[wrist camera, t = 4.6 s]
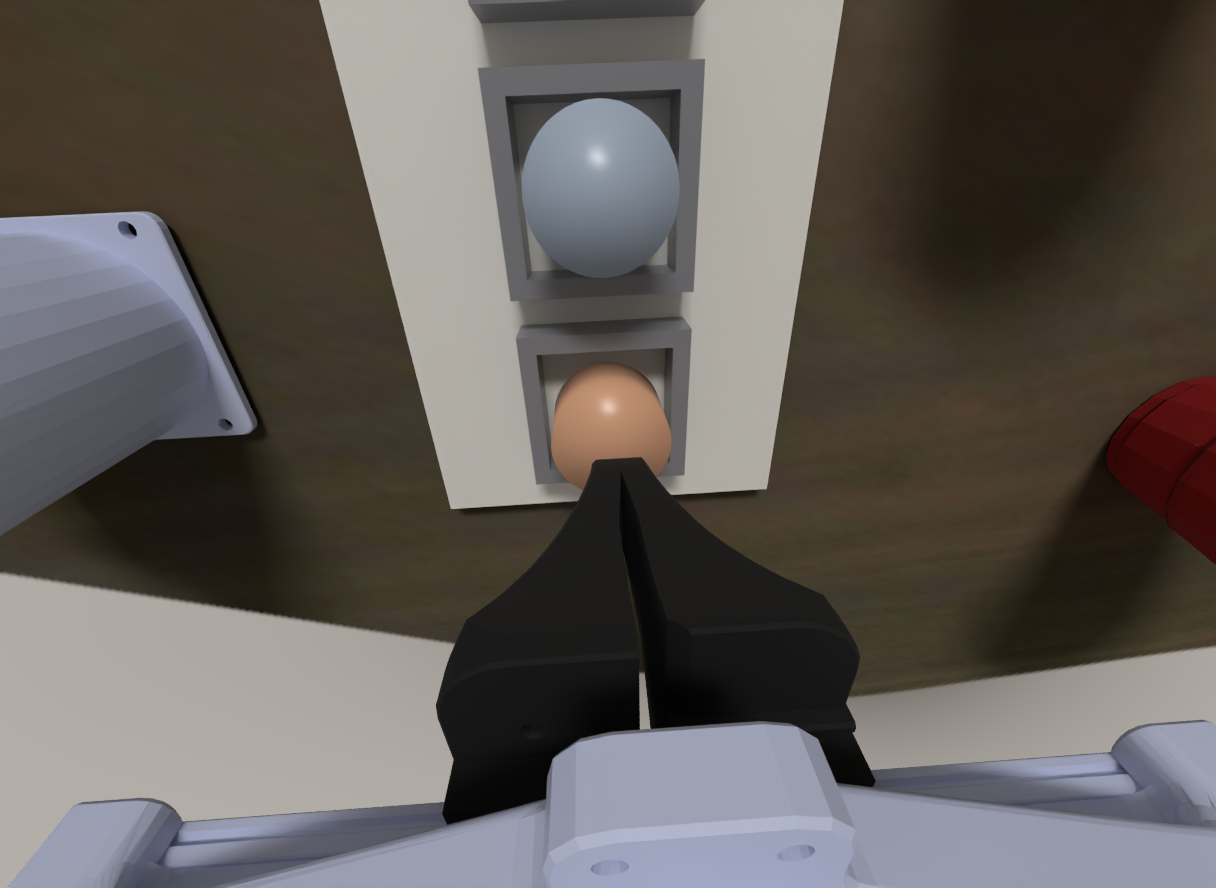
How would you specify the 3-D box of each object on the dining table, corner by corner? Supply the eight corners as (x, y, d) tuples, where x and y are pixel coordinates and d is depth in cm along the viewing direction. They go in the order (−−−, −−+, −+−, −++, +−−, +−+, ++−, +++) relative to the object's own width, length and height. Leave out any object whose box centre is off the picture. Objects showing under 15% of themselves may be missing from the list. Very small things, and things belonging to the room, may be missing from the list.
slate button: (538, 266, 14) (531, 281, 12) (522, 114, 12) (510, 101, 10) (662, 259, 14) (677, 273, 12) (665, 108, 12) (682, 94, 10)
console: (456, 495, 21) (441, 533, 19) (217, -469, 9) (103, -672, 7) (759, 476, 22) (779, 511, 20) (897, -476, 10) (992, -669, 8)
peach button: (559, 461, 18) (557, 499, 16) (549, 365, 16) (544, 394, 14) (659, 455, 18) (670, 491, 16) (661, 359, 16) (673, 386, 14)
